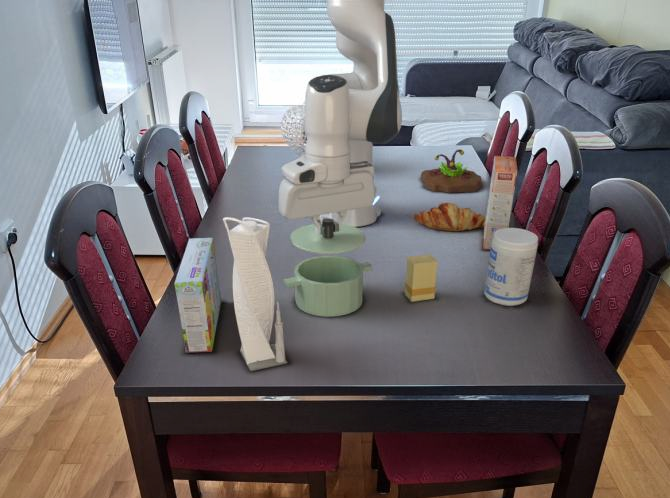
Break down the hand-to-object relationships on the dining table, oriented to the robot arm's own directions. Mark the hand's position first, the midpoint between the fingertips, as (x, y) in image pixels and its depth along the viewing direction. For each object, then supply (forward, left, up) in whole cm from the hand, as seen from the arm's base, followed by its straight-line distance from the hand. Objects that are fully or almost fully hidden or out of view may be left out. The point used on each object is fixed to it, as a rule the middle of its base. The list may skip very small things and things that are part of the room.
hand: (327, 232), depth 134 cm
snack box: (-1, -28, -16) cm, 32 cm away
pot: (0, 0, -16) cm, 16 cm away
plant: (-57, +73, -16) cm, 94 cm away
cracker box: (-11, +54, -16) cm, 58 cm away
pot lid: (0, 0, -1) cm, 1 cm away
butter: (+7, +19, -16) cm, 26 cm away
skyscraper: (+15, -22, -16) cm, 31 cm away
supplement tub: (+16, +36, -16) cm, 43 cm away
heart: (-87, +40, -16) cm, 97 cm away
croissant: (-25, +50, -16) cm, 58 cm away
